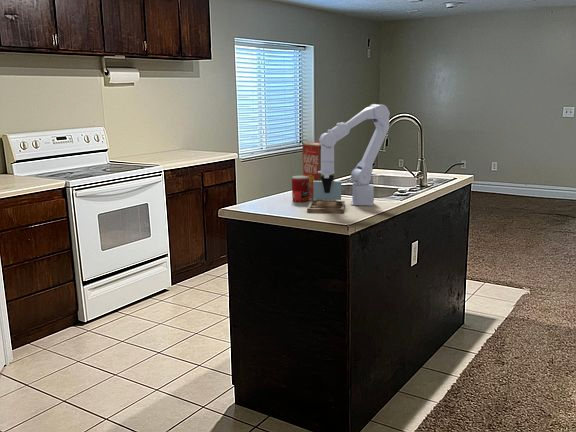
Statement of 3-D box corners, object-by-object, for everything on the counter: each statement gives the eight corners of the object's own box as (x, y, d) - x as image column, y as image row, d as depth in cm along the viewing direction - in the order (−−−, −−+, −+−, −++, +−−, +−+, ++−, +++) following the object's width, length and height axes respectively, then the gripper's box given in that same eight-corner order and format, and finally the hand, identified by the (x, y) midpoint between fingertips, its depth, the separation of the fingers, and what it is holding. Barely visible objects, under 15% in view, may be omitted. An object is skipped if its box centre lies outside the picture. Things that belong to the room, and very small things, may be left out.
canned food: (304, 202, 257) (303, 178, 254) (289, 201, 261) (288, 177, 259) (312, 199, 263) (312, 175, 261) (297, 198, 267) (296, 175, 265)
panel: (341, 199, 249) (341, 181, 248) (341, 199, 248) (341, 181, 246) (313, 198, 251) (313, 180, 249) (313, 199, 249) (313, 181, 247)
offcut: (336, 209, 244) (336, 202, 243) (334, 210, 241) (334, 203, 240) (317, 208, 246) (317, 201, 245) (316, 209, 243) (316, 202, 243)
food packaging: (301, 195, 275) (301, 143, 270) (316, 193, 281) (316, 142, 275) (319, 199, 265) (319, 145, 259) (334, 196, 270) (335, 143, 265)
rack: (344, 204, 252) (344, 201, 251) (343, 213, 234) (343, 209, 234) (310, 204, 253) (310, 200, 253) (307, 212, 236) (307, 208, 236)
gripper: (319, 159, 253) (319, 189, 256) (316, 163, 239) (317, 195, 242) (335, 159, 252) (335, 189, 255) (333, 163, 238) (333, 195, 241)
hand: (327, 192), depth 249 cm, fingers closed on panel, 2 cm apart
